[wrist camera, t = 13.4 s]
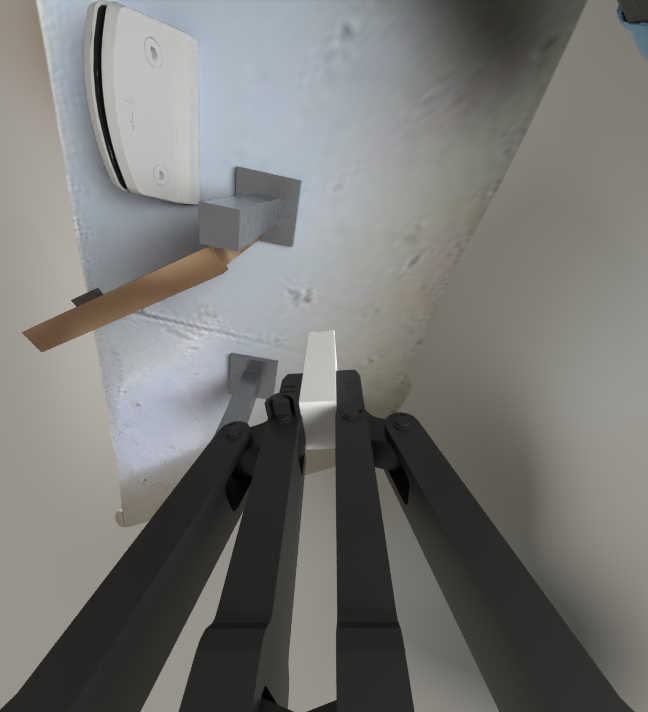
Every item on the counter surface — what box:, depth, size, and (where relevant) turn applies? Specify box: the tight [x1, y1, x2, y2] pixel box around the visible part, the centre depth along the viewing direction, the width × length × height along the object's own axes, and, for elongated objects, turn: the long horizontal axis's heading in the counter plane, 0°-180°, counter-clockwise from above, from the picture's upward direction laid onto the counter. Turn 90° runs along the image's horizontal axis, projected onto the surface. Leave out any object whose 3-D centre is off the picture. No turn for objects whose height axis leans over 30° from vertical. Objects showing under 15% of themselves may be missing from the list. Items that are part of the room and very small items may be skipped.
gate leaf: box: [22, 237, 260, 352], centre depth 35 cm, size 3×22×17 cm, turn 112°
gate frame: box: [198, 167, 302, 438], centre depth 38 cm, size 8×36×20 cm, turn 169°
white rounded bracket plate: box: [84, 0, 200, 204], centre depth 32 cm, size 17×5×10 cm, turn 168°
